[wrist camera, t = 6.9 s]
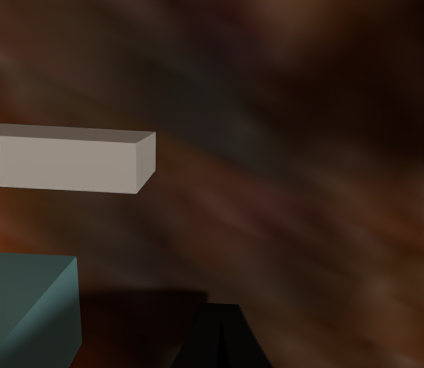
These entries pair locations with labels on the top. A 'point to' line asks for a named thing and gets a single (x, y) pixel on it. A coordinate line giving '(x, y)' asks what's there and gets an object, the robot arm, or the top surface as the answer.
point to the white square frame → (75, 158)
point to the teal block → (39, 311)
